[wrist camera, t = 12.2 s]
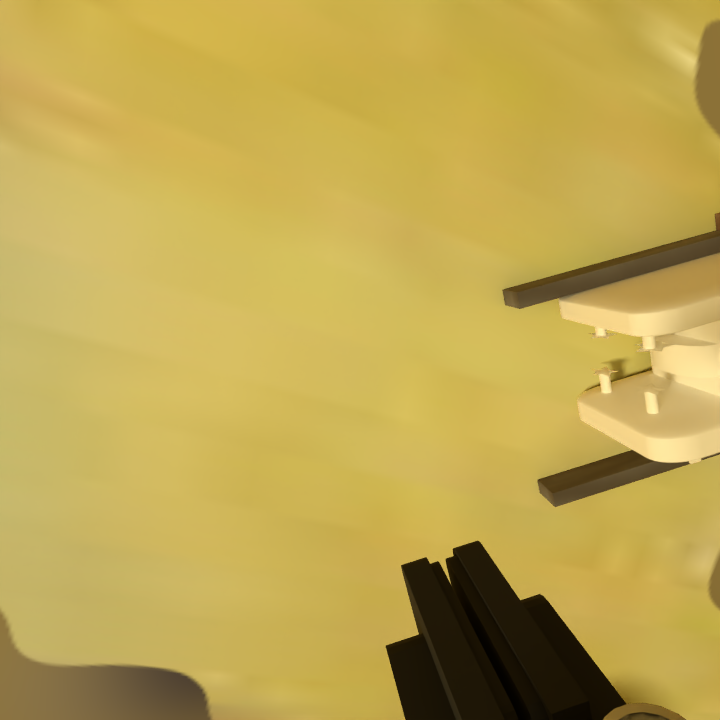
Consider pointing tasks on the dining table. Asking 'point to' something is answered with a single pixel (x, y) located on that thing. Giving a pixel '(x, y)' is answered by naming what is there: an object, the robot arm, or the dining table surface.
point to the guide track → (553, 287)
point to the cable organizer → (659, 360)
